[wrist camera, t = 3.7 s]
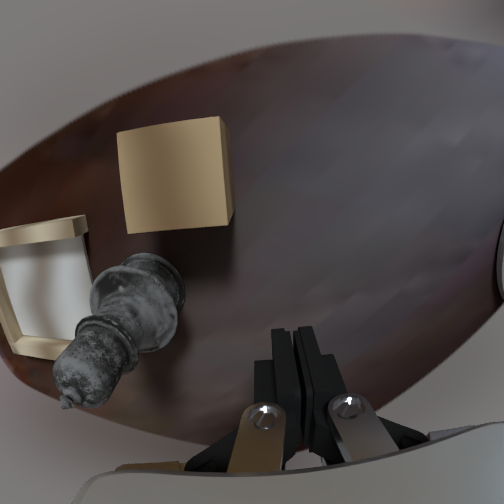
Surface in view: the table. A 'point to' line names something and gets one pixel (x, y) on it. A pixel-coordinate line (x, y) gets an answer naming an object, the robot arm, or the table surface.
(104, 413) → the table surface
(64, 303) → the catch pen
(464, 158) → the table surface
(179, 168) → the oak block
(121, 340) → the grey chess piece
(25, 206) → the table surface
